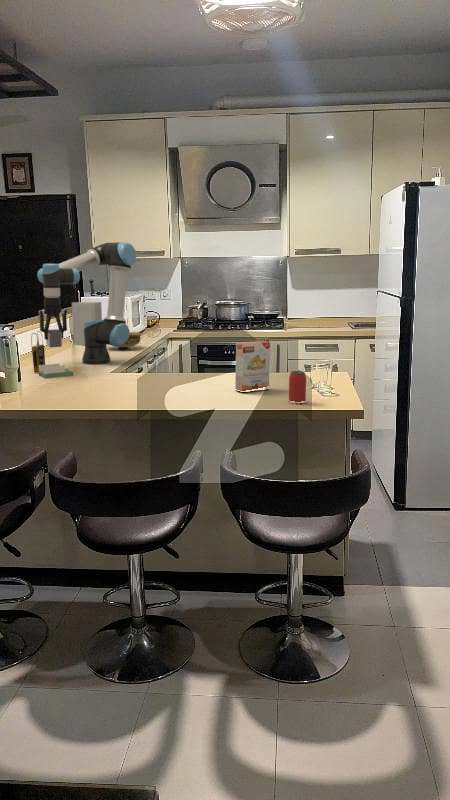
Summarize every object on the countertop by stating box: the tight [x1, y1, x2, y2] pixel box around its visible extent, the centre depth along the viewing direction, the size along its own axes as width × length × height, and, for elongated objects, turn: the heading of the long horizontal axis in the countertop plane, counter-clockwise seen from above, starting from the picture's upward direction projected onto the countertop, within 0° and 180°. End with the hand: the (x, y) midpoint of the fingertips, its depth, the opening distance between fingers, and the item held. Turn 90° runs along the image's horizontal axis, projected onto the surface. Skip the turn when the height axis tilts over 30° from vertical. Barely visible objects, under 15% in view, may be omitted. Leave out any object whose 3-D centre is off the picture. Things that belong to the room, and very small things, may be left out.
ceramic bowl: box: [111, 331, 143, 351], centre depth 390 cm, size 30×24×10 cm
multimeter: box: [30, 330, 46, 375], centre depth 309 cm, size 15×10×20 cm
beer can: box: [288, 370, 307, 402], centre depth 239 cm, size 7×7×12 cm
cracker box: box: [234, 340, 271, 391], centre depth 260 cm, size 14×6×21 cm, turn 122°
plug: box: [48, 328, 62, 348], centre depth 295 cm, size 5×5×8 cm
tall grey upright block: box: [71, 301, 103, 347], centre depth 409 cm, size 19×15×28 cm
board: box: [38, 363, 74, 379], centre depth 299 cm, size 14×9×5 cm, turn 124°
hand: (54, 346), depth 296 cm, fingers closed on plug, 5 cm apart
